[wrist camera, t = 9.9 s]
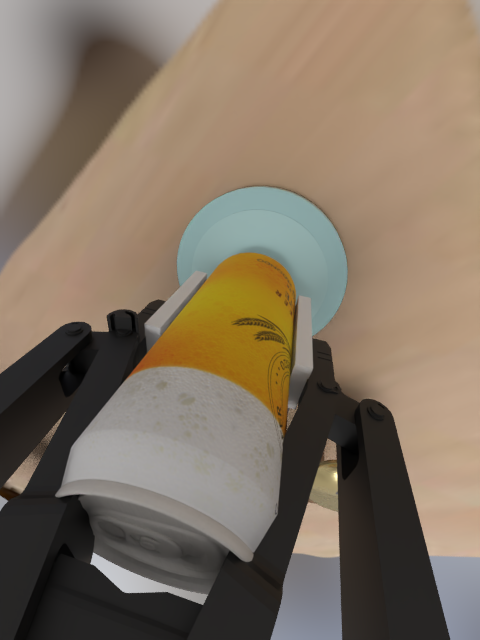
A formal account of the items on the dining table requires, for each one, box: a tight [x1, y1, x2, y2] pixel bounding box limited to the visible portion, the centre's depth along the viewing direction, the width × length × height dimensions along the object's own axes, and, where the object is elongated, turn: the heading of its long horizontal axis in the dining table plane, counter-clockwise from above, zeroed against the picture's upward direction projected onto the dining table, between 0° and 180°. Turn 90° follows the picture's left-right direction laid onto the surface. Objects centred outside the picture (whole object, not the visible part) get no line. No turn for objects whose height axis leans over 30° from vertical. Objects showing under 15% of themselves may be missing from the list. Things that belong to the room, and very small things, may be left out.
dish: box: [177, 186, 348, 336], centre depth 20 cm, size 13×13×1 cm
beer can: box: [55, 252, 296, 594], centre depth 13 cm, size 6×6×15 cm
